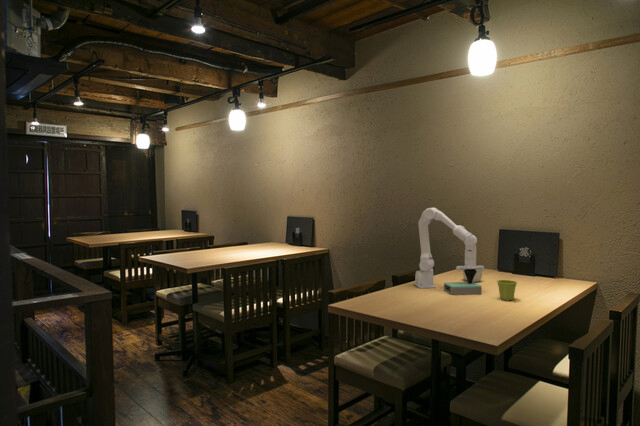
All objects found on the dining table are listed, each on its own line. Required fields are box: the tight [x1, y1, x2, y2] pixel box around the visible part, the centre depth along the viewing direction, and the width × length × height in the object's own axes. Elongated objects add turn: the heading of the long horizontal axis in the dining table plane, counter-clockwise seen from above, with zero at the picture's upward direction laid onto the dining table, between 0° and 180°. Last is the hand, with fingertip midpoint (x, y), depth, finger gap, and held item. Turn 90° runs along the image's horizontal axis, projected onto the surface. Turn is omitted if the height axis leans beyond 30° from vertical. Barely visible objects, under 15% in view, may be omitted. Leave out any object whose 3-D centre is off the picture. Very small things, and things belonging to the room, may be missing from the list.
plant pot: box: [496, 279, 518, 301], centre depth 211 cm, size 9×9×9 cm
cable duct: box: [443, 283, 483, 296], centre depth 224 cm, size 16×10×4 cm, turn 96°
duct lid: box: [443, 281, 482, 288], centre depth 224 cm, size 16×10×1 cm, turn 96°
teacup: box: [462, 270, 483, 283], centre depth 252 cm, size 14×11×8 cm
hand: (469, 283), depth 226 cm, fingers closed, pressing on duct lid
